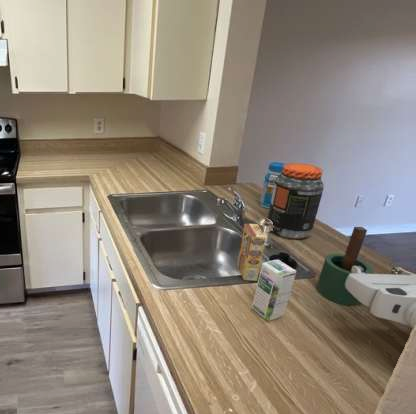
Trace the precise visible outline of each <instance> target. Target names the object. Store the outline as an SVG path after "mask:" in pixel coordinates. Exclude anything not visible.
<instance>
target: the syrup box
mask: <svg viewBox="0 0 416 414" xmlns="http://www.w3.org/2000/svg"><path fill="white" fill-rule="evenodd" d="M296 275H297V270H296V269H295V268H293V267H291V266H289V265H288V264H286V263H285V262H282V261H281V260H280V259H273V260H268V261H265V262H263V263H261V266H260V270H259V274H258V279H257V284H256V288H255V293H254V297H253V301H252V305H251V309H252V310H253V311H255V312H256V313H257V314H258V315H259V316H260V317H262V318H263V319H264V320H265V321H266V322H270V321H273V320H277V319H280V318H282V317H284V316H285V313H286V310H287V305H288V302H289V299H290V295H291V292H292V288H293V285H294V282H295V278H296Z"/></svg>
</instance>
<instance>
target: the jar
mask: <svg viewBox="0 0 416 414" xmlns="http://www.w3.org/2000/svg"><path fill="white" fill-rule="evenodd" d="M344 256H345V253H343V254H342V253H331V254H327V255H326V256H325V258H324V261H323V264H322V268H321V271H320V274H319V276H318V281H317V284H316V290H317V292H318V294H319V295H321V296H322V297H323V298H325V299H327V300H328V301H330V302H332V303H335V304H338V305H342V306H351V307H353V306H358V305H360V304H361V302H360V301H358V300H357V299H356V298H355V297H354V296H353V295H352V294H351V293H350V292H349V291H348V290H347V289H346V287H345V283H346V279H347V277H348V275H349V274H350V273H352V272H351V271H347V270H344V269H341V268H340V267H341V264H342V262H343V259H344ZM355 266H361V268H363V269H364V270H363V272H362V273H365V274H374V269H373V267H372V266H371V265H370V264H369V263H368V262H366V261H364V260H362V259H360V258H358V257H357V260H356V263H355Z"/></svg>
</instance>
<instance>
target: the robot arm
mask: <svg viewBox="0 0 416 414" xmlns="http://www.w3.org/2000/svg"><path fill="white" fill-rule="evenodd" d="M363 270H364V269H363V268H361V266H353V267H352V269H351V271H352V273H350V274H349V275H348V277H347V279H346V283H345V287H346V289H347V290H348V291H349V292H350V293H351V294H352V295H353V296H354V297H355V298H356V299H357V300H358V301H360V304H362V305H364V306H365V307H368V308H370V309H369V312H370V313H371V314H372V315H373V316H374V317H376V318H379V319H383V320H387V321H392V322H395V323H399V324H401V325H403V326H407V327H410V328H411V329H413V328H414V325H415V324H416V273H413V272H410V271H407V270H405V269H404V268H402V267H401V266H393V267H392V269H391V272H390V273H391V274H387V273H372V274H365V273H362V272H363Z"/></svg>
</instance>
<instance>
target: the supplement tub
mask: <svg viewBox="0 0 416 414" xmlns="http://www.w3.org/2000/svg"><path fill="white" fill-rule="evenodd" d="M284 164H285V165H284V166H283V169H282V173H281V174H280V175H279V176H278V177H277V178H276V180H275V184H274V189H273V194H272V199H271V204H270V208H268V214H267V218H268V219H270V220H271V221H272V222H273V226H274V227H273V231H272V232H271V233H273V234H274V235H276V236H279V237H282V238H286V239H299V240H300V239H305V238H308V237H310V236H311V235H312V232H313V229H314V227H315V226H314V225H315V221H316V218H317V215H318V212H319V208H320V203H321V201H322V197H323V192H324V188H325V183H324V181H323V179H322V175H323V169H322V168H321V167H319V166H316V165H313V164H308V163H307V164H306V163H298V162H297V163H294V162H293V163H292V162H291V163H284Z"/></svg>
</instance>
